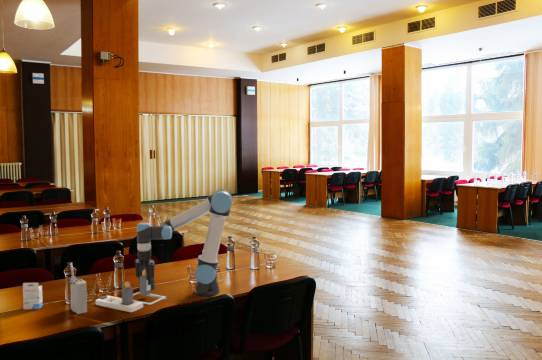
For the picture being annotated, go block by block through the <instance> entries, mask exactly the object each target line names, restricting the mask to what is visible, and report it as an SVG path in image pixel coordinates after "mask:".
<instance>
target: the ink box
mask: <svg viewBox="0 0 542 360" xmlns="http://www.w3.org/2000/svg"><path fill="white" fill-rule="evenodd" d="M22 303H23V304H22V305H23V308H22V309H23V310H40V309H42V307H43V285H39V282H23V283H22Z"/></svg>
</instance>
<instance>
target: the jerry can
mask: <svg viewBox="0 0 542 360" xmlns="http://www.w3.org/2000/svg"><path fill="white" fill-rule="evenodd" d="M69 267H70V271H71V278H70V280H69V283H70V285H69V287H70V310H71V311H72V312H73V313H76V316H79V315H80V314H85V313H88V301H87V299H88V297H87V296H88V294H87V293H88V292H87V291H88V290H87V287H88V286H87V281H86V280H83V279H82V278H79V279H78V278H77V277H76V276H75V274H74V267H73V263H72V262H70V263H69Z"/></svg>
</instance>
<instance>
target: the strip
mask: <svg viewBox="0 0 542 360" xmlns="http://www.w3.org/2000/svg"><path fill="white" fill-rule="evenodd" d="M94 301H95V305H96V306H100V307H104V308H109V309H114V310H119V311H124V312H129V313H134V312H136V311H138V310H140V309H143V308H144V304H143V302H144V301H142V302H138V301H139V300H137V301H133V304H130V305H128V306H127V305H123V304H122V297H117V296H112V295H103V296H100V298H97V299H95V300H94Z"/></svg>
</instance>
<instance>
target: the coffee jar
mask: <svg viewBox="0 0 542 360" xmlns="http://www.w3.org/2000/svg"><path fill="white" fill-rule="evenodd" d="M151 261H155V260H154V259H152V258H151ZM155 267H156V263H155V264H154V269H155ZM144 270H146V269H145V267H144ZM155 283H156V282H155V277H154V278H152V279H151V290H150V291H152V290H155V289H156V284H155ZM138 289H139V291H140V284H139V283H138Z"/></svg>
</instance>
